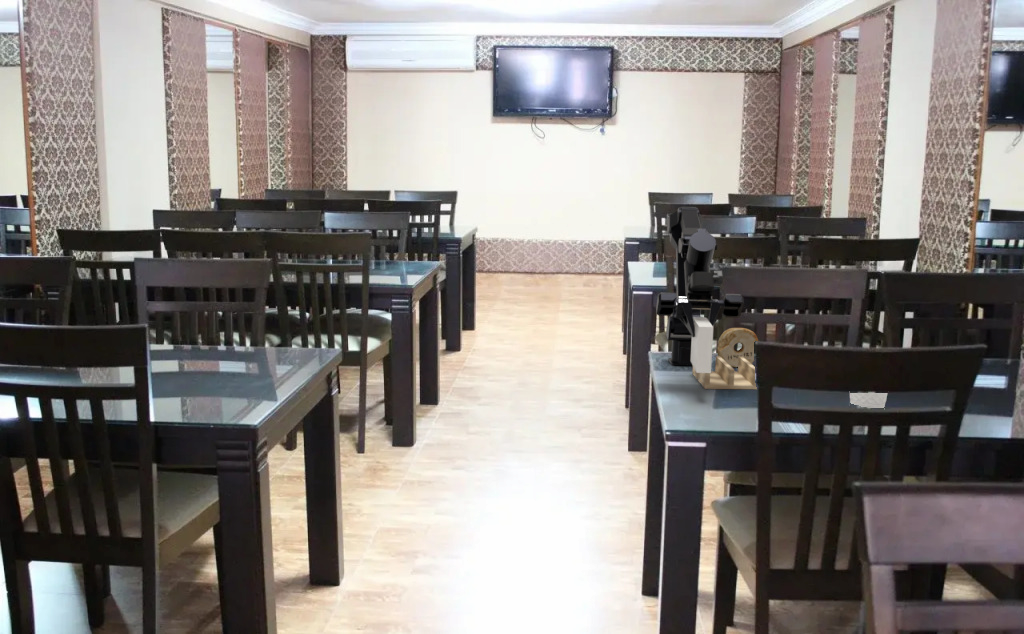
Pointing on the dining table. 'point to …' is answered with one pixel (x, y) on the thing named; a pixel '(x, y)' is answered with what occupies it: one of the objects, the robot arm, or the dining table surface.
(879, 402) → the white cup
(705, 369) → the white block
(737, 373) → the plate rack
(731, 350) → the stone disc
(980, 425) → the dining table surface
